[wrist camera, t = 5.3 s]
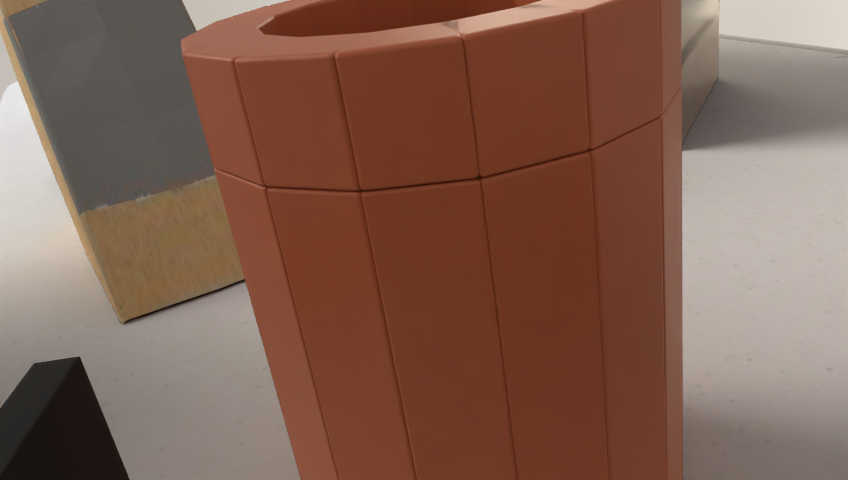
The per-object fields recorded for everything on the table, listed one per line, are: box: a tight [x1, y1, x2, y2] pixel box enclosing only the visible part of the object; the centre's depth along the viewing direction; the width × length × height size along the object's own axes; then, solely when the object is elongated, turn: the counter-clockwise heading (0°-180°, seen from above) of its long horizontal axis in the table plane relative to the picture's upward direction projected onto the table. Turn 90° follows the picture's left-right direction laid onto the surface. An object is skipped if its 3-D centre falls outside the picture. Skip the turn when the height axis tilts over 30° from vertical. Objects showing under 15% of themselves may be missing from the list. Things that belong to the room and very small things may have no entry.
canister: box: [181, 0, 683, 480], centre depth 16 cm, size 9×9×12 cm
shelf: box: [680, 0, 719, 143], centre depth 45 cm, size 14×14×11 cm
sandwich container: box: [0, 0, 245, 323], centre depth 35 cm, size 9×15×15 cm, turn 30°
